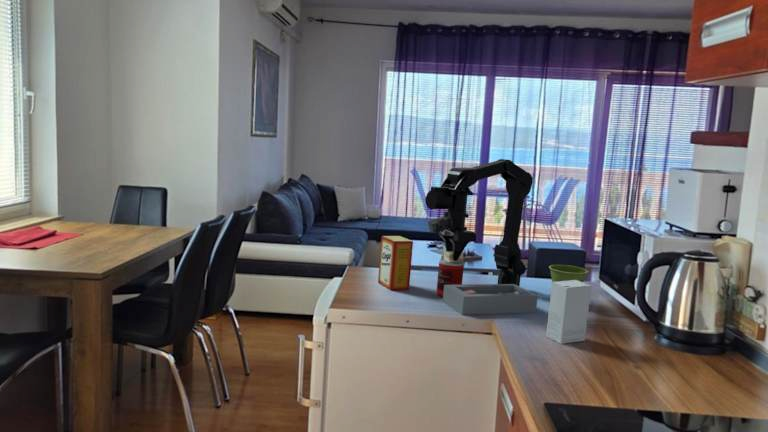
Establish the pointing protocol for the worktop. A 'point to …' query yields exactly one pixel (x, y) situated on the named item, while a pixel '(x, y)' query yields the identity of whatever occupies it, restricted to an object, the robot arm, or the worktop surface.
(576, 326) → the skincare box
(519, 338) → the worktop surface
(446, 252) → the beige block
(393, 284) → the baking soda box
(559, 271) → the plant pot
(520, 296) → the pocket board
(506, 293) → the ejector lever
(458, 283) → the canned food
